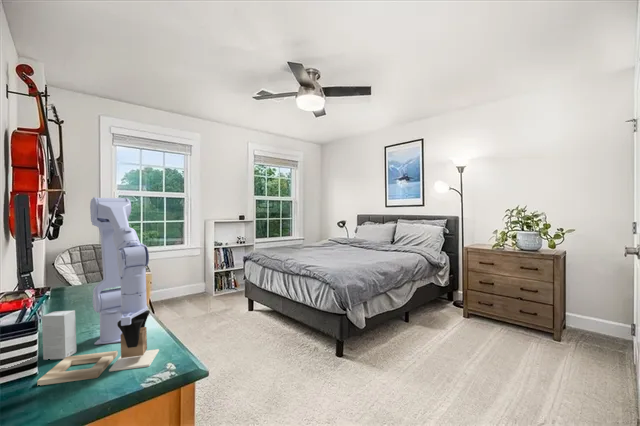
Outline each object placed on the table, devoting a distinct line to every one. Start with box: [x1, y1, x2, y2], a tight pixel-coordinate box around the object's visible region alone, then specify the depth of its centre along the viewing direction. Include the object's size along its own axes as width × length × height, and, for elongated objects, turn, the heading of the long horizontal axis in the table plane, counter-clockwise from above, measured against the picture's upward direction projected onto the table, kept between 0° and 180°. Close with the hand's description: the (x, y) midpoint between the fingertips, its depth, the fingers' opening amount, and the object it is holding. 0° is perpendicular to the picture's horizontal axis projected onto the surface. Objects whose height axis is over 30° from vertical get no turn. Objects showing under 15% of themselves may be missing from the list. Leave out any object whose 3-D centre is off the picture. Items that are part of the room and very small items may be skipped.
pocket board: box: [36, 350, 119, 386], centre depth 77 cm, size 12×12×1 cm
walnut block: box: [120, 326, 148, 358], centre depth 81 cm, size 4×5×6 cm
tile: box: [108, 348, 160, 373], centre depth 81 cm, size 9×9×1 cm
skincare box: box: [41, 310, 77, 361], centre depth 85 cm, size 6×4×12 cm
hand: (135, 343), depth 81 cm, fingers closed on walnut block, 4 cm apart
